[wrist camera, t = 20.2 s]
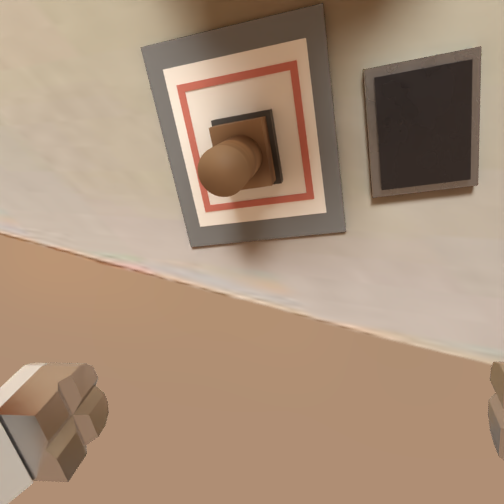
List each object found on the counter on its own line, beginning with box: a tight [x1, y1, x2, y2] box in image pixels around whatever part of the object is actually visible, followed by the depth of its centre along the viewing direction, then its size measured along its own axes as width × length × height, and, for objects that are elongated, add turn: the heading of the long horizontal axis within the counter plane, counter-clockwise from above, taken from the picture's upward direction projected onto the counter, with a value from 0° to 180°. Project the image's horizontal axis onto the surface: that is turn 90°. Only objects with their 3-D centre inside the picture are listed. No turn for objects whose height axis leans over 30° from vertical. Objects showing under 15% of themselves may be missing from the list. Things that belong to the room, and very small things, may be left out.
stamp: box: [198, 109, 283, 197], centre depth 31 cm, size 6×5×9 cm
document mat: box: [141, 3, 346, 247], centre depth 35 cm, size 18×15×1 cm
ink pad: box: [363, 47, 481, 198], centre depth 31 cm, size 10×8×2 cm
